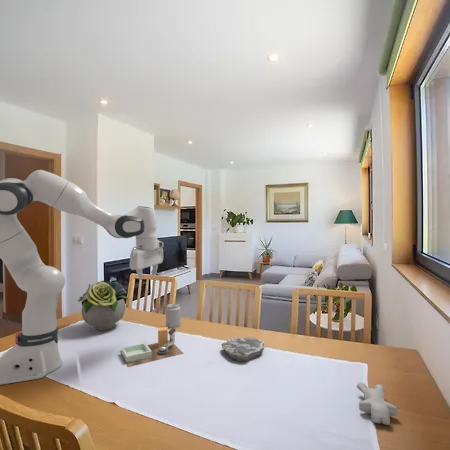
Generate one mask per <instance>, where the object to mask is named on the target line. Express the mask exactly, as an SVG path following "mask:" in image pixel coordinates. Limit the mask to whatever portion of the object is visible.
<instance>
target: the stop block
mask: <svg viewBox="0 0 450 450" xmlns="http://www.w3.org/2000/svg"><path fill="white" fill-rule="evenodd" d="M168 331H169V328H168V327H166V326H162V327H158V328H157V343H158V347H160V346H163V345H164V344H166V343H167V342H168V339H169V338H168V337H169V336H168V335H169V334H168Z"/></svg>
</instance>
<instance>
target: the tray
mask: <svg viewBox="0 0 450 450" xmlns="http://www.w3.org/2000/svg"><path fill="white" fill-rule="evenodd" d="M147 345H148V344H147V343H146V342H141V343H137V344H131V345H128V346H122V347H121V351H122V355H121V357H122V356H123V357H122V359H123V358H124V359H123V360H125V361H124V363H125V362H126V363H125V365H126V364H127V363H131V362H135V361H139V360H143V359H147V358H152V351H151V350H150V348H149V347H148V346H147Z"/></svg>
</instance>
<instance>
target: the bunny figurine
mask: <svg viewBox="0 0 450 450" xmlns="http://www.w3.org/2000/svg"><path fill="white" fill-rule="evenodd" d="M356 388H357V389H358V390H359V391H360V392H362V393H363V397H364V398H363V399H364V400H360V401H359V402H358V409H359V411H360V412H364V413H366V414H369V415H370V421H371V422H372V423H375V424H382V425H387V426H390V425H391V418H390V417H397V416H398V415H397V414H398V407H397V406H396V405H394V404H392V403H389V402H388V401H386V400H385V388H384V386H383V385H382V384H379V383H378V384H376V385H374V388H373V387H370V388H369V387H368V386H367V385H366V384H365V383H364V382H361V381H360V382H358V383H357V384H356Z"/></svg>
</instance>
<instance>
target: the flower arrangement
mask: <svg viewBox="0 0 450 450" xmlns="http://www.w3.org/2000/svg"><path fill="white" fill-rule="evenodd" d="M127 294H128V292H127V291H126V288H124V287H123V286H122V285H121V284H119V283H118V281H114V282H113V281H109V280H108V281H107V280H99V281H97V282H95V283H93V284H92V285H91V283H89V284H88V286H87V289H86V291H85V292H84V293H82V296H80V297H79V299H78V300H77V302H78V303H80V302H81V317H82V319H83V321H84V322H85V323H86V324H88V325H89V326H91V327H94V329H96V331H107V330H111V329H112V328H113V327H114V325H115V324H117V323H119V321H121V320H122V319H123V317H124V315H125V312H126V301H125V299H126V300H127V301H130V300H129V298H128V296H126V295H127Z"/></svg>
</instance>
